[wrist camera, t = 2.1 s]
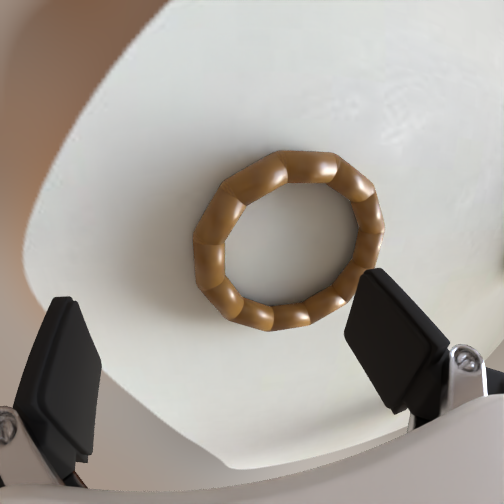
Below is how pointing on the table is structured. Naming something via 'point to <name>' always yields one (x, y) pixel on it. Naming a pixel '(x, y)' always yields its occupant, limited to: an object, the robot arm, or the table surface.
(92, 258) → the table surface
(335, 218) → the table surface
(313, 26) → the table surface
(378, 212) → the ring
